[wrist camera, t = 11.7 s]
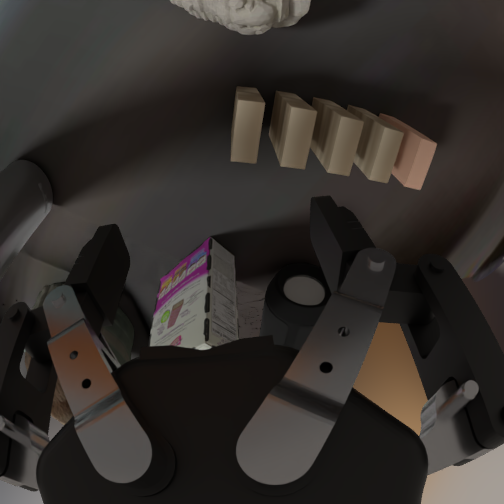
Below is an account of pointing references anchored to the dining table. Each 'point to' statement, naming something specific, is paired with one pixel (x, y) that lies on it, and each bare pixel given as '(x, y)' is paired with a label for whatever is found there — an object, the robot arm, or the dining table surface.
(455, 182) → the dining table surface
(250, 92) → the tile
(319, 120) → the tile
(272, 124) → the tile
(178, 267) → the candy bar box
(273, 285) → the portable speaker
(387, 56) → the dining table surface
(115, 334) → the elephant in basket
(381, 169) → the tile
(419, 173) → the tile
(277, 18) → the fossil replica
